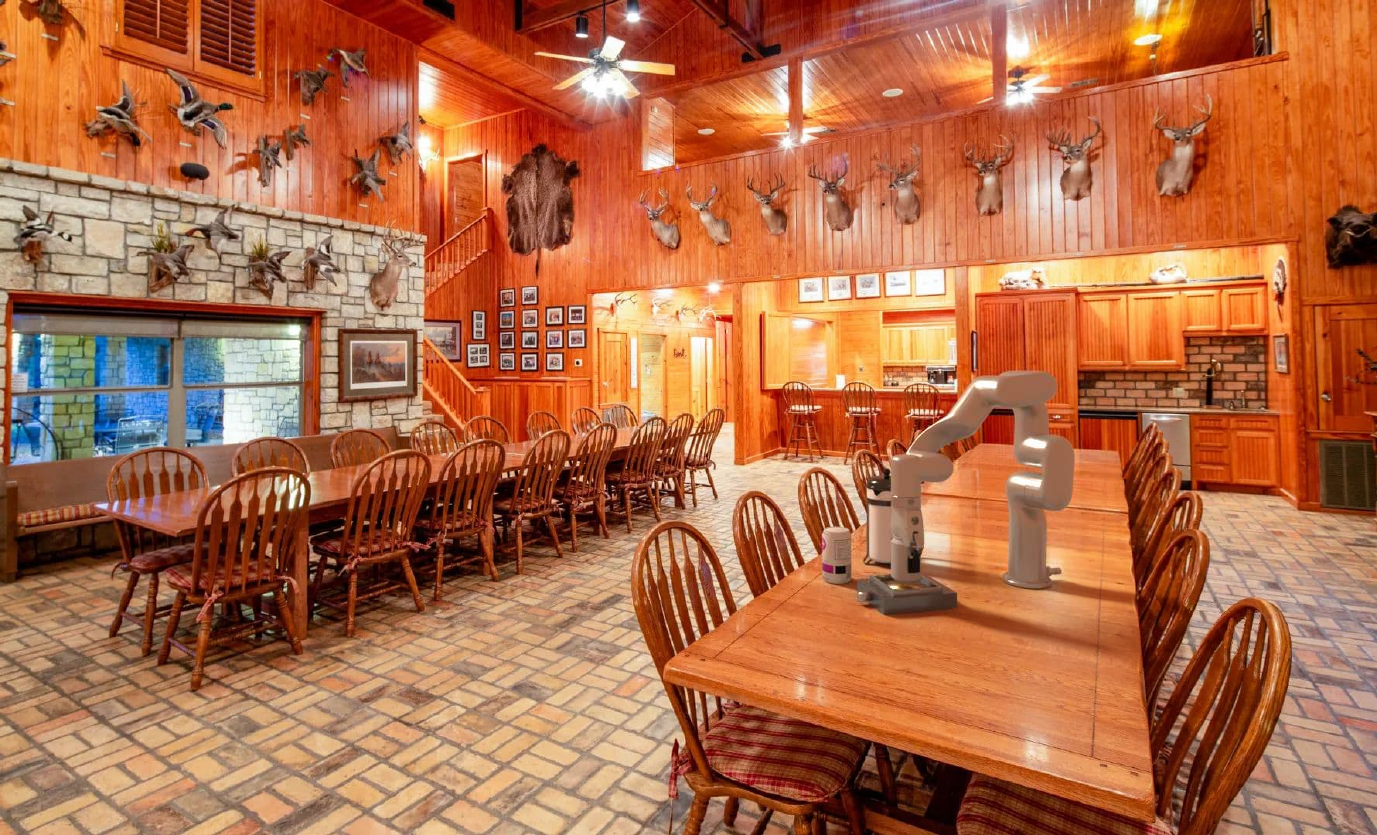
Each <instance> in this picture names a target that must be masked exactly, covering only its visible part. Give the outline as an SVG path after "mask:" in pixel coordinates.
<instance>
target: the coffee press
mask: <svg viewBox="0 0 1377 835" xmlns="http://www.w3.org/2000/svg"><path fill="white" fill-rule="evenodd" d="M882 473H883V474H884V475H883V474H882V475H875V476H871V477H870V478H868V479H867V481H866V482H867V483H865V488H866V496H865V499H866V500H865V502H866V554H865V557H864V558H863V560H862V562H863V563H864V564H865V565H868V564H870V563H871V562H872V561H874V562H878V563H883V564H890V565H891V536H890V532H889V531H890V530H891V512H892V508H891V468H890V469H889V468H887V467H886V468H884V469H883V471H882ZM868 558H869V559H868ZM867 559H868V560H867Z"/></svg>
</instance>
